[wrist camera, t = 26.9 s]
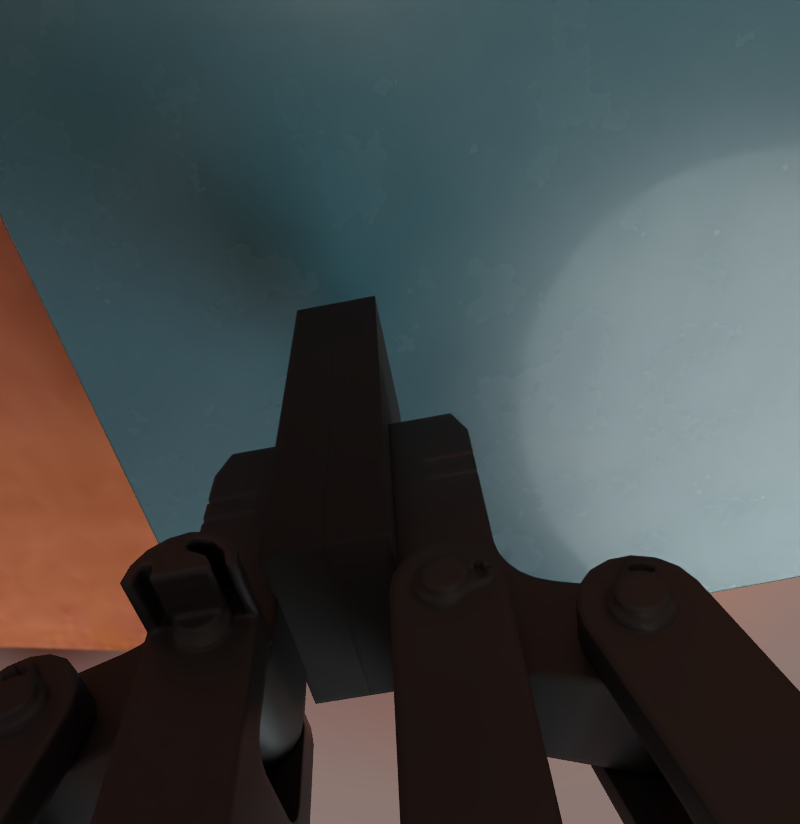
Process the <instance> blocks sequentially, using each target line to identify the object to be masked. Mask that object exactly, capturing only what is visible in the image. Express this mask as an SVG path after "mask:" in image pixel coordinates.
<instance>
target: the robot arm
mask: <svg viewBox="0 0 800 824" xmlns="http://www.w3.org/2000/svg"><path fill="white" fill-rule="evenodd" d="M208 500H209V504H207V507H206V511H205V514H204V518H203V520H204V524H202V526H201V529H200V532H188V533H185V534H182V535H179V536H175V537H172V538H169V539H167V540H165V541H163V542H161V543H159V544H158V545H156V546H154V547H152V548H151V549H149V550H147V551H146V552H145V553H144V554H143V555H142V556H141V557H140V558H138V559H137V560H136V561H135V562H134V563H133V564H132V565H131V566H130V567H129V569H128V571H127V572H126V574H125V576H124V578H123V579H122V581H121V583H120V584H121V586H122V588H123V590H124V591H125V593H126V595H127V597H128V598H129V600H130V602H131V604H132V606H133V607H134V609H135V611H136V613H137V615H138V616H139V618H140V620H141V622H142V623H143V625H144V627H145V629H146V631H147V632H148V633H147V636H146V639H145V642H144V643H143V644H141V645H139V646H138V647H136V648H134V649H132V650H130V651H128V652H126V653H124V654H122V655H120V656H117V657H115V658H113V659H111V660H108V661H106V662H103V663H101V664H99V665H97V666H94V667H92V668H90V669H87V670H85V671H83V672H80V673H77V671H76V670H75V669H74V667H73V666H72V665H71V663H70V662H69V661H68V660H67V659H66V658H62V657H58V656H55V655H51V654H49V655H42V656H35V657H29V658H27V659H24V660H22V661H19V662H17V663H15V664H12V665H11V666H8V667H6V668H5V669H3V670H2V671H0V824H310V806H311V788H312V767H313V747H314V744H313V737H312V732H311V727H310V725H309V722H308V720H307V717H306V715H305V713H304V711H305V696H306V681H307V683H308V686H309V688H310V691H311V693H312V696H313V698H314V701H315V703H316V704H317V703H323V702H330V701H335V700H343V699H348V698H355V697H361V696H368V695H374V694H381V693H387V692H393V691H394V702H395V722H396V743H397V764H398V783H399V803H400V824H562V820H561V815H560V811H559V806H558V802H557V798H556V794H555V789H554V785H553V781H552V776H551V772H550V768H549V763H548V760H547V757H551V758H556V759H562V760H567V761H573V762H579V763H584V764H590V765H591V766H592V768H593V770H594V772H595V773H596V775H597V777H598V779H599V780H600V782H601V784H602V786H603V787H604V789H605V791H606V793H607V795H608V796H609V798H610V800H611V802H612V804H613V805H614V807H615V809H616V811H617V812H618V814H619V816H620V818H621V819H622V821H623V823H624V824H800V691H799V690H798V689H797V688H796V687H795V686H794V685H793V684H792V683H791V682H790V680H789V679H788V678H787V677H786V676H785V675H784V674H783V673H782V672H781V671H780V670H779V668H778V667H776V666H775V664H774V663H773V662H772V661H771V660H770V659H769V658H768V656H767V655H766V654H765V653H764V652H763V651H762V650H761V649H760V648H759V647H758V646H757V644H755V642H754V641H753V640H752V639H751V638H750V637H749V636H748V635H747V634H746V633H745V631H744V630H743V629H742V628H741V627H740V626H739V625H738V624H737V623H736V622H735V620H734V619H733V618H732V617H731V616H730V615H729V614H728V613H727V612H726V611H725V610H724V608H722V606H721V605H720V604H719V603H718V602H717V601H716V600H715V599H714V598H713V597H712V595H711V594H710V593H709V592H708V591H707V590H706V589H705V588H704V587H703V586H702V585H701V583H700V582H699V581H698V580H697V579H695V578H694V577H693V576H691V575H690V574H689V573H687V572H686V571H685V570H684V569H682V568H681V567H680V566H678V565H675V564H672V563H670V562H667V561H664V560H662V559H659V558H656V557H647V556H635V555H629V556H624V557H619V558H614V559H609V560H607V561H605V562H603V563H601V564H600V565H598V566H596V567H594V568H593V569H591V570H589V572H588V573H587V575H586V576H585V577H584V579H583V580H582V581H581V583H572V582H561V581H552V580H547V579H542V578H536V577H533V576H531V575H528V574H526V573H523V572H521V571H519V570H518V569H516V568H515V567H513V566H512V565H510V564H509V563H507V562H506V560H505V559H504V558H503V557H502V556H501V554H500V553H499V552H498V550H497V548H496V545H495V543H494V540H493V536H492V532H491V527H490V523H489V519H488V514H487V510H486V506H485V501H484V497H483V493H482V489H481V484H480V480H479V476H478V472H477V467H476V463H475V458H474V455H473V450H472V445H471V441H470V437H469V433H468V429H467V428H466V427H465V426H463V425H462V424H461V423H460V422H459V421H458V420H457V419H456V418H455V417H454V416H453V415H452V414H451V413H449V414H443V415H437V416H432V417H426V418H420V419H415V420H409V421H404V422H401V416H400V410H399V406H398V401H397V396H396V392H395V387H394V382H393V378H392V373H391V368H390V364H389V359H388V354H387V350H386V345H385V340H384V336H383V331H382V327H381V322H380V317H379V313H378V308H377V303H376V299H375V296H370V297H365V298H360V299H354V300H349V301H344V302H339V303H333V304H328V305H323V306H317V307H312V308H307V309H301V310H297V314H296V321H295V327H294V333H293V339H292V346H291V352H290V358H289V364H288V371H287V377H286V383H285V389H284V396H283V402H282V408H281V414H280V421H279V427H278V433H277V439H276V445H275V447H270V448H264V449H259V450H253V451H247V452H242V453H236V454H232V455H231V457H230V458H229V459H228V460H227V462H226V463H225V464H224V465H223V467H222V468H221V469H220V470H219V472H218V473H217V474H216V475H215V477H214V480H213V484H212V488H211V492H210V495H209V499H208Z"/></svg>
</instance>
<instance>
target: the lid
mask: <svg viewBox="0 0 800 824" xmlns="http://www.w3.org/2000/svg"><path fill="white" fill-rule="evenodd" d="M0 216H1V218H2V220H3V222H4V224H5V226H6V229H7V231H8V233H9V235H10V237H11V239H12V241H13V243H14V245H15V247H16V249H17V251H18V253H19V255H20V258H21V260H22V262H23V264H24V266H25V268H26V270H27V272H28V274H29V276H30V278H31V280H32V282H33V284H34V287H35V289H36V291H37V293H38V295H39V297H40V299H41V301H42V303H43V305H44V307H45V309H46V311H47V313H48V316H49V318H50V320H51V322H52V324H53V326H54V328H55V330H56V332H57V334H58V336H59V338H60V340H61V342H62V345H63V347H64V349H65V351H66V353H67V355H68V357H69V359H70V361H71V363H72V365H73V367H74V369H75V371H76V374H77V376H78V378H79V380H80V382H81V384H82V386H83V388H84V390H85V392H86V394H87V396H88V398H89V400H90V403H91V405H92V407H93V409H94V411H95V413H96V415H97V417H98V419H99V421H100V423H101V425H102V427H103V429H104V432H105V434H106V436H107V438H108V440H109V442H110V444H111V446H112V448H113V450H114V452H115V454H116V456H117V458H118V461H119V463H120V465H121V467H122V469H123V471H124V473H125V475H126V477H127V479H128V481H129V483H130V485H131V488H132V490H133V492H134V494H135V496H136V498H137V500H138V502H139V504H140V506H141V508H142V510H143V512H144V514H145V517H146V519H147V521H148V523H149V525H150V527H151V529H152V531H153V533H154V535H155V537H156V539H157V541H158V543H161V542H163V541H165V540H167V539H169V538H172V537H175V536H179V535H182V534H185V533H188V532H200V529H201V526H202V524H204V520H203V518H204V514H205V511H206V507H207V504H209V500H208V499H209V495H210V492H211V488H212V484H213V480H214V477H215V475H216V474H217V473H218V472H219V470H220V469H221V468H222V467H223V465H224V464H225V463H226V462H227V460H228V459H229V458H230V457H231V455H232V454H236V453H242V452H247V451H253V450H259V449H264V448H270V447H275V445H276V439H277V433H278V427H279V421H280V414H281V408H282V402H283V396H284V389H285V383H286V377H287V371H288V364H289V358H290V352H291V346H292V339H293V333H294V327H295V321H296V314H297V310H301V309H307V308H312V307H317V306H323V305H328V304H333V303H339V302H344V301H349V300H354V299H360V298H365V297H370V296H375V299H376V303H377V308H378V313H379V317H380V322H381V327H382V331H383V336H384V340H385V345H386V350H387V354H388V359H389V364H390V368H391V373H392V378H393V382H394V387H395V392H396V396H397V401H398V406H399V410H400V416H401V422H404V421H409V420H415V419H420V418H426V417H432V416H437V415H443V414H449V413H451V414H452V415H453V416H454V417H455V418H456V419H457V420H458V421H459V422H460V423H461V424H462V425H463V426H465V427H466V428H467V429H468V433H469V437H470V441H471V445H472V450H473V455H474V458H475V463H476V467H477V472H478V476H479V480H480V484H481V489H482V493H483V497H484V501H485V506H486V510H487V514H488V519H489V523H490V527H491V532H492V536H493V540H494V543H495V545H496V548H497V550H498V552H499V553H500V554H501V556H502V557H503V558H504V559H505V560H506V562H507V563H509V564H510V565H512V566H513V567H515V568H516V569H518V570H519V571H521V572H523V573H526V574H528V575H531V576H533V577H536V578H542V579H547V580H552V581H561V582H572V583H581V581H582V580H583V579H584V577H585V576H586V575H587V573H588V572H589V570H591V569H593V568H594V567H596V566H598V565H600V564H601V563H603V562H605V561H607V560H609V559H614V558H619V557H624V556H629V555H635V556H647V557H656V558H659V559H662V560H664V561H667V562H670V563H672V564H675V565H678V566H680V567H681V568H682V569H684V570H685V571H686V572H687V573H689V574H690V575H691V576H693V577H694V578H695V579H697V580H698V581H699V582H700V583H701V585H702V586H703V587H704V588H705V589H706V590H707V591H708V592H709V593H713V592H718V591H724V590H729V589H735V588H740V587H746V586H751V585H756V584H762V583H768V582H773V581H778V580H784V579H789V578H794V577H800V0H0Z"/></svg>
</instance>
